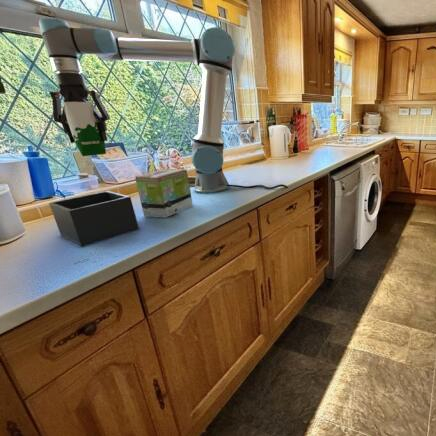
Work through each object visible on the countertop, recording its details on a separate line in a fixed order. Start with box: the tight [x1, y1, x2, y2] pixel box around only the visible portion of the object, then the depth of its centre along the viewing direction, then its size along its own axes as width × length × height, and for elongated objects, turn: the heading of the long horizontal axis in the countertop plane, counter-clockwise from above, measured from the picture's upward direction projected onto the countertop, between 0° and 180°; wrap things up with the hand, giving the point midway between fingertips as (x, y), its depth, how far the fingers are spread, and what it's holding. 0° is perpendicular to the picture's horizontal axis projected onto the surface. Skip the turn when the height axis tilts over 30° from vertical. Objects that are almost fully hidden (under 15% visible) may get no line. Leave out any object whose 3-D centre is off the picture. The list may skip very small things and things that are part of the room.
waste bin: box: [48, 190, 140, 248], centre depth 93 cm, size 16×16×11 cm
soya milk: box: [63, 101, 107, 157], centre depth 107 cm, size 9×9×20 cm
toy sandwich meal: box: [188, 175, 196, 187], centre depth 155 cm, size 12×14×5 cm
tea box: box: [135, 168, 194, 219], centre depth 111 cm, size 15×10×15 cm, turn 168°
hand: (89, 141), depth 109 cm, fingers closed on soya milk, 9 cm apart
